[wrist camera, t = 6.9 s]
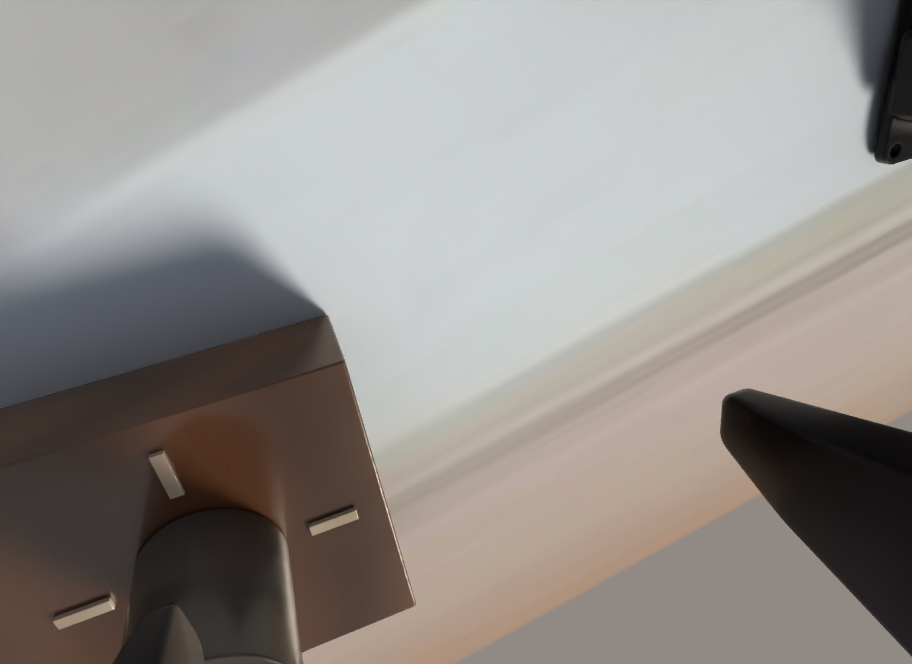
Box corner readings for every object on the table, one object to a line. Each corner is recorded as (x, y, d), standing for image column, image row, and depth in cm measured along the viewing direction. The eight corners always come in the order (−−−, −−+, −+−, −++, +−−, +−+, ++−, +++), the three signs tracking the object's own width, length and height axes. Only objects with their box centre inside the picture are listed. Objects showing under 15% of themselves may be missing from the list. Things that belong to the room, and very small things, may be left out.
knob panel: (327, 313, 18) (346, 363, 15) (395, 542, 23) (417, 609, 20) (-225, 473, 15) (-323, 570, 12) (-9, 697, 20) (-45, 801, 17)
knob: (304, 584, 18) (328, 744, 14) (166, 636, 17) (148, 823, 13) (265, 487, 16) (280, 641, 12) (108, 540, 15) (66, 725, 11)
